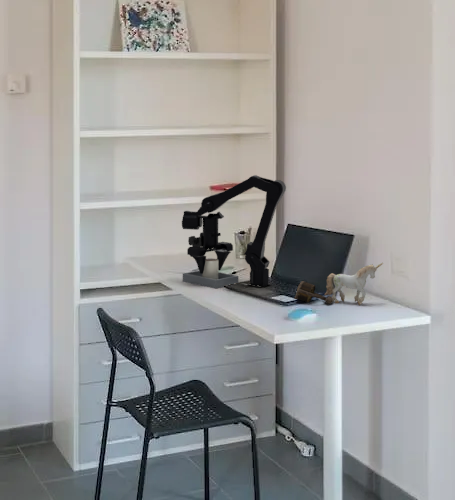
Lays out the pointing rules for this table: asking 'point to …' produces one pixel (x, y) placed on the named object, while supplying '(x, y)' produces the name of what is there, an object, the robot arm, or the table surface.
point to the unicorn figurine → (350, 283)
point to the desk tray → (220, 282)
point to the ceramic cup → (211, 269)
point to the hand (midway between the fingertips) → (210, 271)
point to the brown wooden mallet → (309, 293)
